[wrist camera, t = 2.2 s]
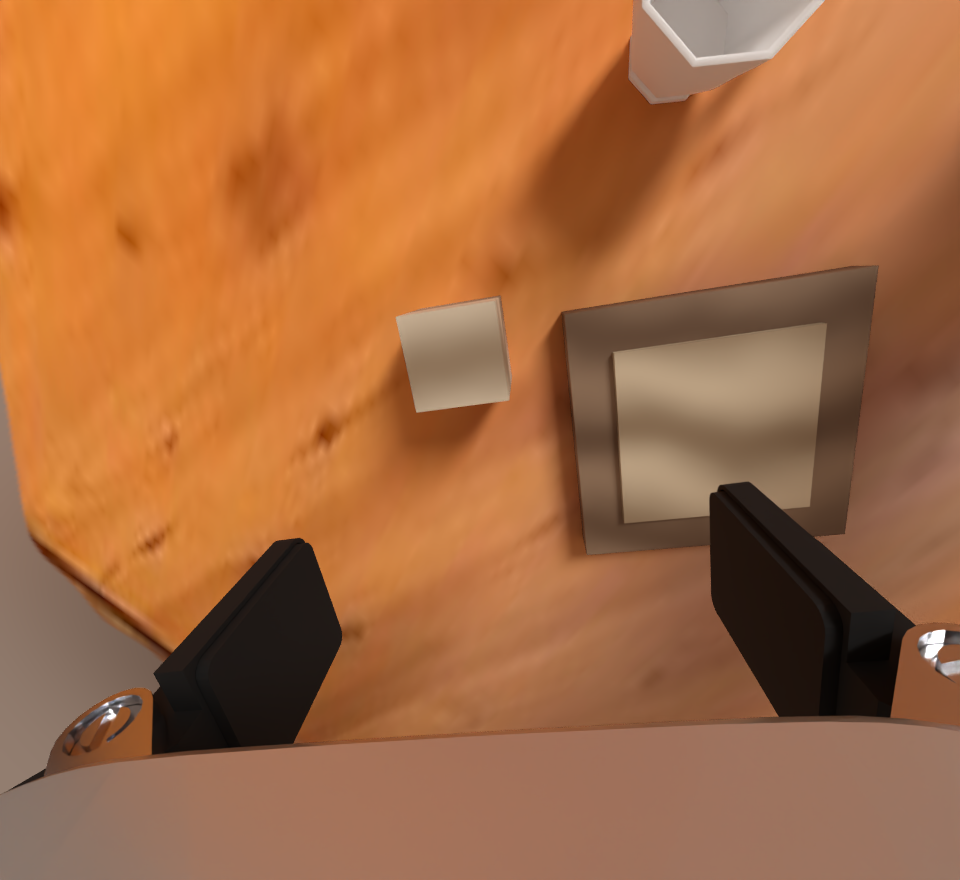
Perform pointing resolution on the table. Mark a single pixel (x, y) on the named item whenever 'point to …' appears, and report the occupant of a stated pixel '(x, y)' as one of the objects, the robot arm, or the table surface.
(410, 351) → the oak block
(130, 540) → the table surface
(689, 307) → the base
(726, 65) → the cup
